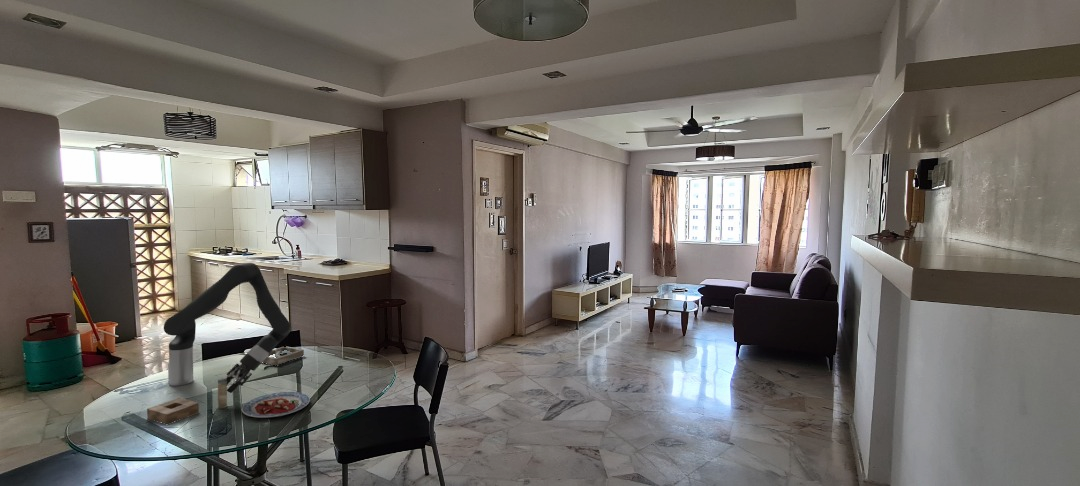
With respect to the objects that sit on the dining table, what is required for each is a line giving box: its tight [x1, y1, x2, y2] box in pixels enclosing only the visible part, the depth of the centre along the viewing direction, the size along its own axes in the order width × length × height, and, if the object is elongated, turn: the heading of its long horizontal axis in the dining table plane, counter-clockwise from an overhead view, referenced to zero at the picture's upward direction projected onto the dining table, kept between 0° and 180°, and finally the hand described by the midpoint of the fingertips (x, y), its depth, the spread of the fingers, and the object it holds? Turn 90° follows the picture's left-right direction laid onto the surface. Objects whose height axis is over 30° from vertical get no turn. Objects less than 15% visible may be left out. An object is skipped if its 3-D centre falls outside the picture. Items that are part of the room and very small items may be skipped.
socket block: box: [146, 397, 200, 425], centre depth 189 cm, size 12×12×4 cm
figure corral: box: [262, 346, 305, 367], centre depth 261 cm, size 14×18×4 cm
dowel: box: [217, 377, 228, 409], centre depth 199 cm, size 3×3×12 cm
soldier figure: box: [275, 350, 282, 358], centre depth 260 cm, size 8×5×12 cm
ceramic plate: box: [241, 391, 311, 418], centre depth 201 cm, size 26×26×3 cm
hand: (225, 389), depth 200 cm, fingers open, 8 cm apart
